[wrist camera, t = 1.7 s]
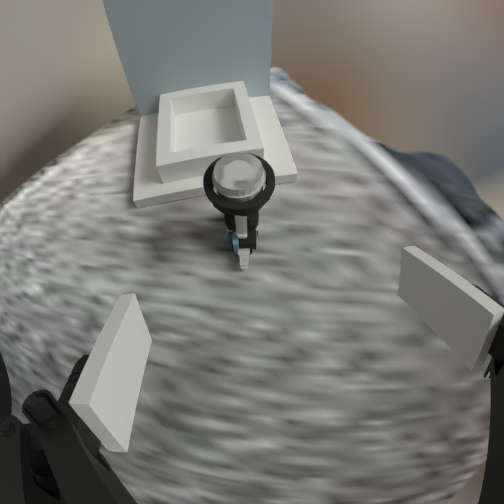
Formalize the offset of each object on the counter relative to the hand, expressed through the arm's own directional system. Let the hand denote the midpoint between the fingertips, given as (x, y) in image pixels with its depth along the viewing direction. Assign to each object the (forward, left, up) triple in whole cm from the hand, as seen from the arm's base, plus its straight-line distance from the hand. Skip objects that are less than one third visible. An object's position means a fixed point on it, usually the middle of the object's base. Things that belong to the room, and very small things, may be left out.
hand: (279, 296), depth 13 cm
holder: (-3, +23, -13) cm, 27 cm away
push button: (-1, +9, -13) cm, 16 cm away
